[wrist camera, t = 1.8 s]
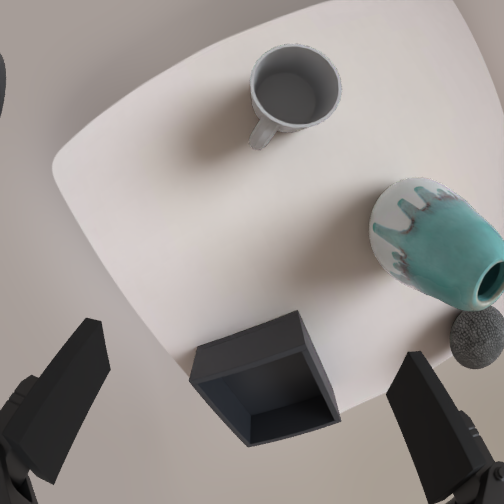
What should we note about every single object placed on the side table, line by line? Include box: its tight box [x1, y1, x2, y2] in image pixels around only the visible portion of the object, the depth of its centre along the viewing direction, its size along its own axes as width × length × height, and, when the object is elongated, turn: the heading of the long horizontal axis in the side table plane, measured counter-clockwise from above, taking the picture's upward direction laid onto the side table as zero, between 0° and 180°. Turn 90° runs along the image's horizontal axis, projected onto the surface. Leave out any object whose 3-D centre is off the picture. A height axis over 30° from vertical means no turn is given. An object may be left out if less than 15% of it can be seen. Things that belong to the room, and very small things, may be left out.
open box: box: [189, 310, 341, 447], centre depth 37 cm, size 17×15×7 cm
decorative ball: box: [450, 306, 504, 369], centre depth 33 cm, size 10×10×10 cm
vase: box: [369, 177, 504, 311], centre depth 24 cm, size 12×12×18 cm
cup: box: [249, 44, 342, 150], centre depth 24 cm, size 7×10×9 cm
